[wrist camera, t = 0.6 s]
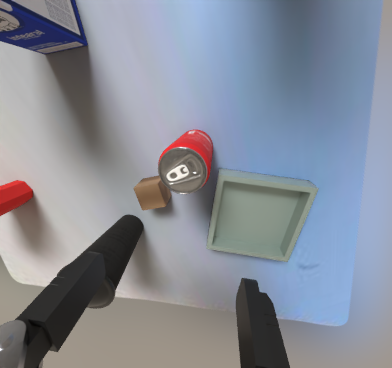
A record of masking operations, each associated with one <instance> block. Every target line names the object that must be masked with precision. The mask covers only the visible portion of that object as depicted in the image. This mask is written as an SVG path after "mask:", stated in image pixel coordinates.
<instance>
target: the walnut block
mask: <svg viewBox="0 0 392 368" xmlns="http://www.w3.org/2000/svg"><path fill="white" fill-rule="evenodd" d="M134 191H135V193H136V196H137V198H138V201H139V203H140V206H141V208H142V210H148V209H154V208H160V207H166V205H167V203H168V201H169V199H170V197H171V192H170V190H169V189H168V188H167V187H166V186H165V185H164V184H163V183H162V181H161V179H160V177H159V176H154V177H149V178H144V179H142V180H141V181H140V182H139V183H138V184H137V185H136V186H135V187H134Z"/></svg>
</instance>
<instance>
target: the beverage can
mask: <svg viewBox="0 0 392 368" xmlns="http://www.w3.org/2000/svg"><path fill="white" fill-rule="evenodd" d="M212 153H213V143H212V140H211V138H210V137H209V136H208V135H207V134H206V133H205V132H203V131H201V130H190V131H188V132H186V133H184V134H183V135H182V136H181V137H180V138H178V139H177V140H176V141H175V142H174V143H172V144H171V145H170V146H169V147H167V148H166V149H165V150H164V151H163V153H162V154H161V156H160V159H159V164H158V173H159V177H160V179H161V181H162V183H163V184H164V185H165V186H166V187H167V188H168V189H169V190H171V191H173V192H175V193H178V194H190V193H193V192H195V191H197V190H199V189H200V188H201V187H203V186H204V185H205V183H206V182H207V180H208V178H209V175H210V169H211V161H212Z"/></svg>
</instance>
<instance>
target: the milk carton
mask: <svg viewBox="0 0 392 368" xmlns="http://www.w3.org/2000/svg"><path fill="white" fill-rule="evenodd" d="M0 41H2V42H5V43H9V44H12V45H16V46H19V47H22V48H26V49H29V50H32V51H36V52H39V53H42V54H48V53H53V52H58V51H63V50H68V49H72V48H77V47H82V46H87V45H88V44H87V40H86V37H85V34H84V30H83V27H82V23H81V20H80V16H79V13H78V10H77V6H76V3H75V0H0Z"/></svg>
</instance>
